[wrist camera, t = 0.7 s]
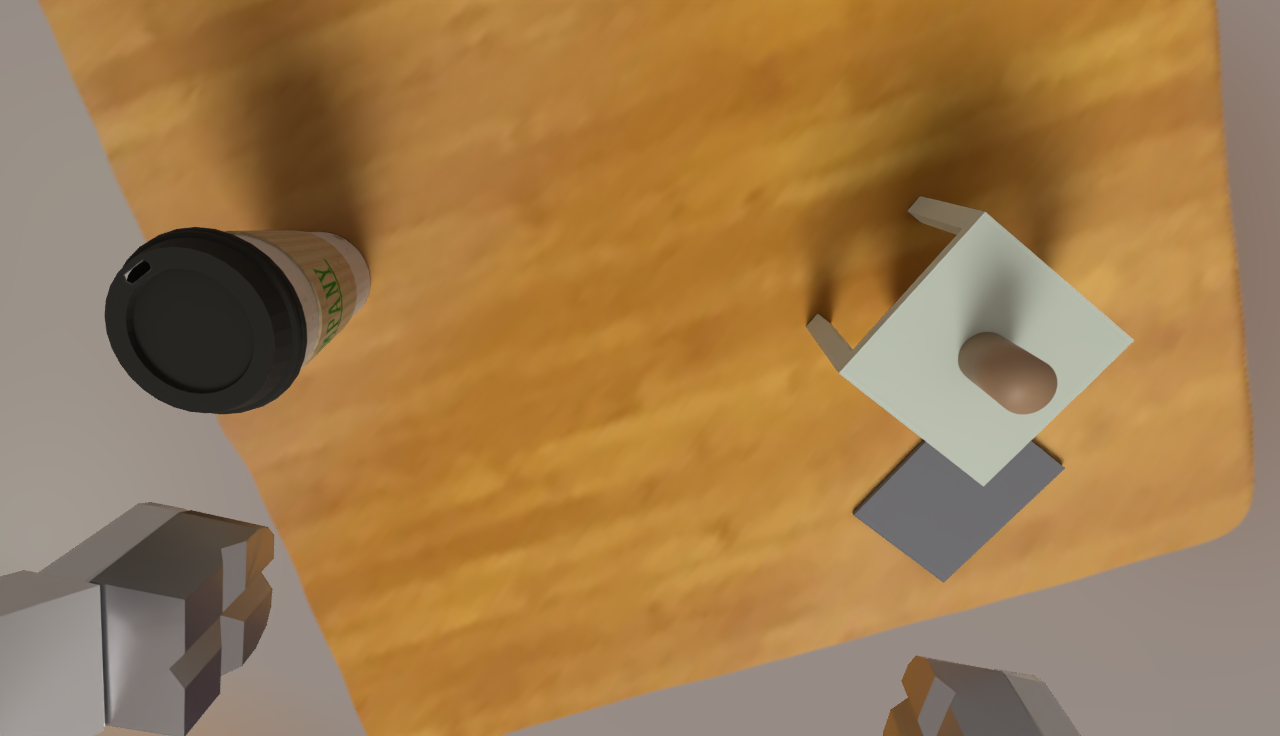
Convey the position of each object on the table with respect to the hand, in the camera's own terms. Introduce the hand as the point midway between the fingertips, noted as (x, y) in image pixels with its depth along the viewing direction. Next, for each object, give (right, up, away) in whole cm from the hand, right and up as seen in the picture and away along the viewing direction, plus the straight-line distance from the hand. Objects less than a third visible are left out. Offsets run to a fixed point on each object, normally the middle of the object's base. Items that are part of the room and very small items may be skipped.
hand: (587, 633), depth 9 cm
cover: (+20, +7, +40) cm, 45 cm away
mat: (+24, -5, +44) cm, 50 cm away
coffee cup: (-21, +10, +41) cm, 47 cm away
